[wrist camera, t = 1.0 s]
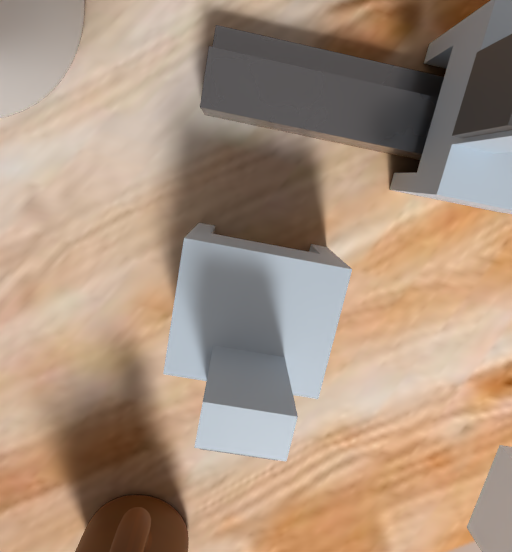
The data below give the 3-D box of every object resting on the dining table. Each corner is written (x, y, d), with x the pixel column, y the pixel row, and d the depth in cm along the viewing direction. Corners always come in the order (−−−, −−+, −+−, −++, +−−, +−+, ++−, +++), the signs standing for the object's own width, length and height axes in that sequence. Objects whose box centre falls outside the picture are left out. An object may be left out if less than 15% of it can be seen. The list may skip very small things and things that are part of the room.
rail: (205, 114, 22) (200, 107, 20) (217, 33, 21) (213, 14, 19) (533, 183, 24) (567, 185, 21) (559, 110, 23) (598, 102, 20)
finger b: (198, 222, 24) (161, 261, 13) (326, 246, 24) (389, 302, 14) (180, 335, 26) (135, 450, 15) (300, 355, 26) (338, 479, 16)
